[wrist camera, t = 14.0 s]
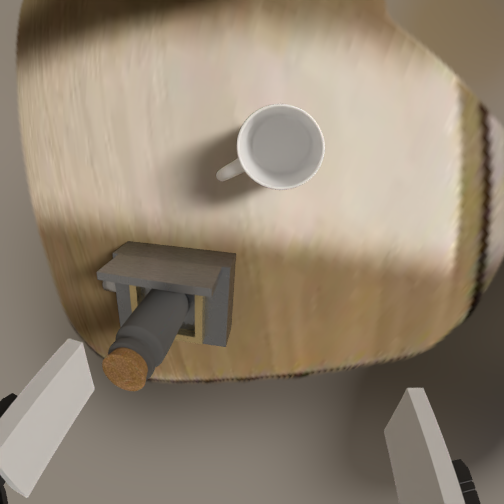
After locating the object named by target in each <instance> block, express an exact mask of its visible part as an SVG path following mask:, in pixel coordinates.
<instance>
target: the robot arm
mask: <svg viewBox="0 0 504 504" xmlns="http://www.w3.org/2000/svg"><path fill="white" fill-rule="evenodd" d="M94 389H95V388H94V385H93V381H92V377H91V374H90V370H89V366H88V362H87V359H86V354H85V350H84V346H83V343H82V342H79V341H76V340H72V339H67V340H66V342H65V343H64V344H63V345H62V346H61V347H60V348H59V349H58V350H57V351H56V353H55V354H54V355H53V356H52V357H51V358H50V359H49V361H48V362H47V363H46V364H45V365H44V366H43V367H42V368H41V370H40V371H39V372H38V373H37V374H36V375H35V377H34V378H33V379H32V380H31V381H30V383H29V384H28V385H27V386H26V387H25V388H24V390H23V391H22V392H21V393H20V394H19V396H17V395H15V394H13V393H12V394H10V395H8V396H7V397H5V398H3V399H2V400H1V401H0V504H8V501H7V496H6V491H5V488H4V486H3V485H4V483H5V482H6V483H7V484H8V485H9V486H10V487H11V488H12V489H13V490H15V491H17V492H18V493H20V494H21V495H23V496H25V497H26V498H28V496H29V495H30V493H31V491H32V489H33V488H34V486H35V484H36V482H37V481H38V479H39V478H40V475H41V474H42V472H43V471H44V469H45V467H46V466H47V464H48V462H49V461H50V459H51V457H52V456H53V454H54V452H55V451H56V449H57V447H58V446H59V444H60V443H61V441H62V439H63V438H64V436H65V435H66V433H67V431H68V430H69V428H70V427H71V425H72V423H73V422H74V420H75V419H76V417H77V416H78V414H79V412H80V411H81V409H82V408H83V406H84V405H85V403H86V402H87V400H88V398H89V397H90V396H91V394H92V392H93V391H94ZM384 434H385V438H386V443H387V447H388V451H389V455H390V460H391V465H392V470H393V474H394V479H395V484H396V489H397V494H398V500H399V504H480V501H479V498H478V494H477V491H475V485H474V483H473V482H472V477H471V475H470V471H469V469H468V467H467V466H466V465H465V464H464V463H463V461H462V460H461V459H459V460H454V461H451V458H450V456H449V453H448V450H447V447H446V445H445V442H444V439H443V437H442V434H441V431H440V429H439V426H438V423H437V421H436V418H435V416H434V414H433V411H432V408H431V406H430V403H429V401H428V399H427V396H426V394H425V392H424V389H423V388H407V389H406V391H405V393H404V395H403V397H402V399H401V401H400V403H399V405H398V406H397V408H396V410H395V412H394V414H393V416H392V417H391V420H390V421H389V423H388V424H387V426H386V428H385V430H384Z"/></svg>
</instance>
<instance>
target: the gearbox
mask: <svg viewBox="0 0 504 504" xmlns="http://www.w3.org/2000/svg"><path fill="white" fill-rule="evenodd" d="M235 262H236V253H228V252H219V251H210V250H201V249H192V248H183V247H175V246H166V245H157V244H148V243H139V242H131V241H128V242H127V243H125V244H124V245H123V246H121V247H120V248H119V249H117V250H116V251H115V252H113V259H112V260H111V261H109V262H108V263H107V264H106V265H104V266H103V267H102V268H101V269H100V270H98V271H97V279H98V280H103V289H104V290H106V291H112V292H116V295H117V303H118V311H119V319H120V326H121V327H122V325H123V324H124V323H125V321H126V320H127V319H128V317H129V316H130V315H131V314H132V312H133V311H134V310H135V309H136V307H137V306H138V305H139V304H140V302H141V301H142V300H143V299H144V297H145V296H146V295H147V294H148V293H149V291H150V290H151V289H158V290H165V291H171V292H178V293H185V295H186V296H187V298H188V302H189V310H188V313H187V315H186V317H185V319H184V321H183V323H182V325H181V327H180V329H179V331H178V333H177V335H176V337H175V339H174V340H179V341H185V342H191V343H197V344H209V345H216V346H223V347H226V345H227V341H228V337H229V334H230V330H231V323H232V307H233V292H234V277H235Z"/></svg>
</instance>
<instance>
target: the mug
mask: <svg viewBox="0 0 504 504" xmlns="http://www.w3.org/2000/svg"><path fill="white" fill-rule="evenodd" d="M324 152H325V144H324V138H323V134H322V131H321V129H320V127H319V125H318V124H317V122H316V121H315V120H314V119H313V118H312V117H311V116H310V115H309V114H308V113H307V112H305V111H304V110H302V109H300V108H298V107H295V106H292V105H287V104H272V105H268V106H265V107H262V108H260V109H258V110H257V111H255V112H254V113H252V114H251V115H250V116H249V117H248V118H247V119H246V120H245V122H244V123H243V125H242V127H241V129H240V131H239V134H238V137H237V155H238V158H237V159H236V160H234V161H232V162H231V163H229V164H227V165H226V166H224V167H223V168H221V169H220V170H218V171H217V173H216V177H217V179H218V180H219V181H226V180H228V179H231V178H233V177H235V176H237V175H239V174H241V173H243V172H246V174H247V175H248V176H249V177H250V178H251V179H252V180H254V181H255V182H256V183H258V184H260V185H262V186H264V187H267V188H270V189H275V190H287V189H292V188H296V187H298V186H301V185H303V184H304V183H306V182H307V181H309V180H310V179H311V178H312V177H313V176H314V175H315V174H316V172H317V171H318V169H319V168H320V166H321V164H322V161H323V158H324Z"/></svg>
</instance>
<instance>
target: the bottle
mask: <svg viewBox="0 0 504 504" xmlns="http://www.w3.org/2000/svg"><path fill="white" fill-rule="evenodd" d="M188 310H189V302H188V298H187V296H186V295H185V293H178V292H171V291H165V290H158V289H151V290H150V291H149V293H148V294H147V295H146V296H145V297H144V299H143V300H142V301H141V302H140V304H139V305H138V306H137V307H136V309H135V310H134V311H133V312H132V314H131V315H130V316H129V317H128V319H127V320H126V321H125V323H124V324H123V325H122V327H121V328H120V329H119V331H118V333H117V335H116V341H115V342H114V343H113V344H112V345H111V347H110V348H109V352H108V356H106V357H105V358H104V360H103V364H102V367H103V370H104V373H105V374H106V376H107V377H108V379H109V380H111V382H112V383H114V384H115V385H116V386H118V387H120V388H122V389H125V390H129V391H137V390H140V389H141V388H143V386H144V385H145V381H146V380H147V379H148V378H150V377H151V375H152V374H153V372H154V369H155V367H157V366H158V365H160V364H161V363H162V361H163V359H164V358H165V356H166V354H167V352H168V350H169V348H170V346H171V345H172V343H173V341H174V339H175V337H176V335H177V333H178V331H179V329H180V327H181V325H182V323H183V321H184V319H185V317H186V315H187V313H188Z"/></svg>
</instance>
